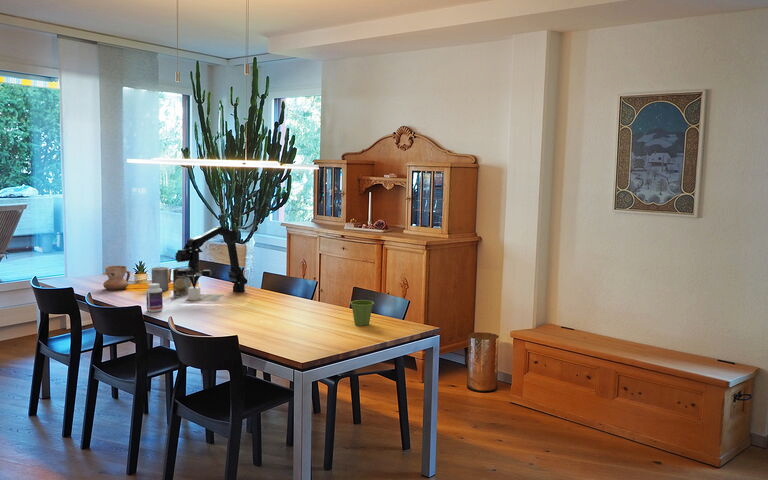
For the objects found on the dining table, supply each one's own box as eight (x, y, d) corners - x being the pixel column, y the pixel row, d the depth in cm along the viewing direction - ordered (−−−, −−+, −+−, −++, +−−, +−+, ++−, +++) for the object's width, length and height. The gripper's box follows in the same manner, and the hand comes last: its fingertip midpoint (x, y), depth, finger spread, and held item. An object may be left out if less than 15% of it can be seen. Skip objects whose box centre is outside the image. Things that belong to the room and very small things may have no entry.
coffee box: (172, 296, 392) (172, 269, 390) (177, 294, 398) (176, 267, 396) (187, 297, 391) (187, 270, 389) (191, 295, 397) (191, 268, 395)
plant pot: (350, 321, 337) (351, 299, 336) (374, 322, 336) (374, 300, 335) (348, 327, 325) (349, 304, 324) (373, 327, 325) (373, 305, 323)
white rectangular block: (200, 298, 382) (200, 286, 382) (198, 299, 377) (197, 288, 376) (191, 297, 382) (190, 286, 382) (188, 299, 377) (188, 288, 376)
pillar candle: (162, 288, 417) (161, 264, 415) (171, 290, 411) (171, 266, 409) (148, 290, 409) (147, 266, 407) (158, 292, 403) (157, 268, 401)
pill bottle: (166, 310, 355) (165, 283, 353) (155, 313, 347) (154, 286, 346) (154, 308, 358) (153, 282, 356) (143, 311, 351) (142, 284, 349)
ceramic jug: (109, 292, 400) (109, 269, 398) (96, 289, 408) (96, 266, 407) (136, 289, 414) (136, 266, 412) (123, 286, 423) (123, 264, 421)
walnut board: (224, 296, 394) (224, 294, 394) (216, 303, 374) (216, 301, 374) (193, 296, 394) (193, 294, 394) (184, 303, 374) (184, 300, 374)
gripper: (173, 262, 369) (173, 290, 371) (207, 262, 370) (207, 290, 371) (178, 259, 380) (179, 286, 382) (211, 259, 381) (212, 286, 382)
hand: (194, 287), depth 379 cm, fingers closed, pressing on white rectangular block
